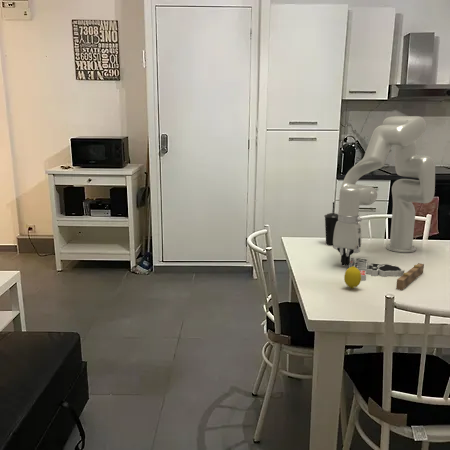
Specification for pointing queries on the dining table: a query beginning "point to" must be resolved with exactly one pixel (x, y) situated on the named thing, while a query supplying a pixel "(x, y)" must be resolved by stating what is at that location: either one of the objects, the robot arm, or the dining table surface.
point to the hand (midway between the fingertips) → (345, 264)
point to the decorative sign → (375, 269)
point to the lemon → (352, 277)
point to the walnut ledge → (409, 276)
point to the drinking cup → (330, 226)
